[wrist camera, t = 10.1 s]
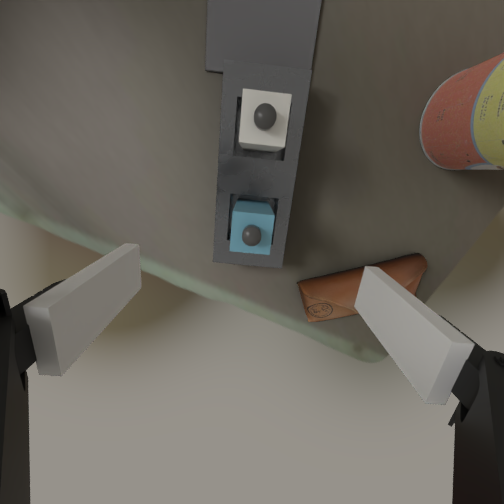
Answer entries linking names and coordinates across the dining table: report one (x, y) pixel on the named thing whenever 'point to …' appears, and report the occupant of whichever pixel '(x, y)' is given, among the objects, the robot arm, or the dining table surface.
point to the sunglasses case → (354, 287)
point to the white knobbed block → (264, 120)
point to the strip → (257, 158)
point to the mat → (261, 32)
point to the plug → (252, 227)
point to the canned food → (467, 119)
